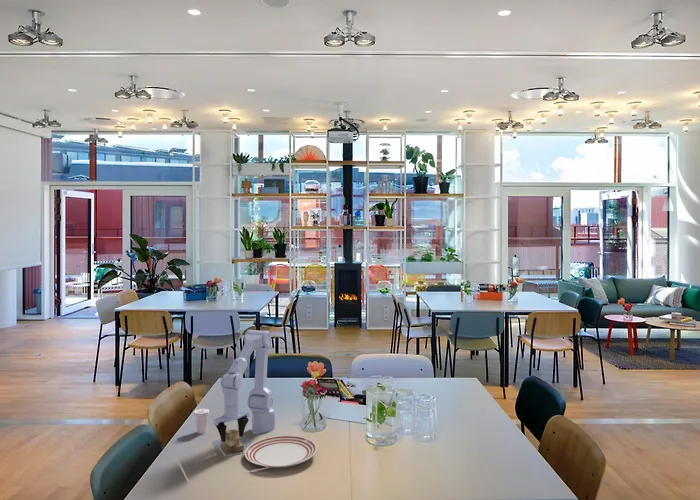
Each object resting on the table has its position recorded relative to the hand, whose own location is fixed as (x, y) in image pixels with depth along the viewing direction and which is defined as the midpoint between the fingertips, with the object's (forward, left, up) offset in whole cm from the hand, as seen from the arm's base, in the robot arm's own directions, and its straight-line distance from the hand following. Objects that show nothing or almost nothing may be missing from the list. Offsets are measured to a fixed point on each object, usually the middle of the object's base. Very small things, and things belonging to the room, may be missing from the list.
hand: (232, 438), depth 207 cm
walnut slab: (0, 0, -5) cm, 5 cm away
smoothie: (+6, -25, -6) cm, 26 cm away
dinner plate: (-15, +14, -5) cm, 21 cm away
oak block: (0, 0, -2) cm, 2 cm away
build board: (-2, -4, -5) cm, 7 cm away
